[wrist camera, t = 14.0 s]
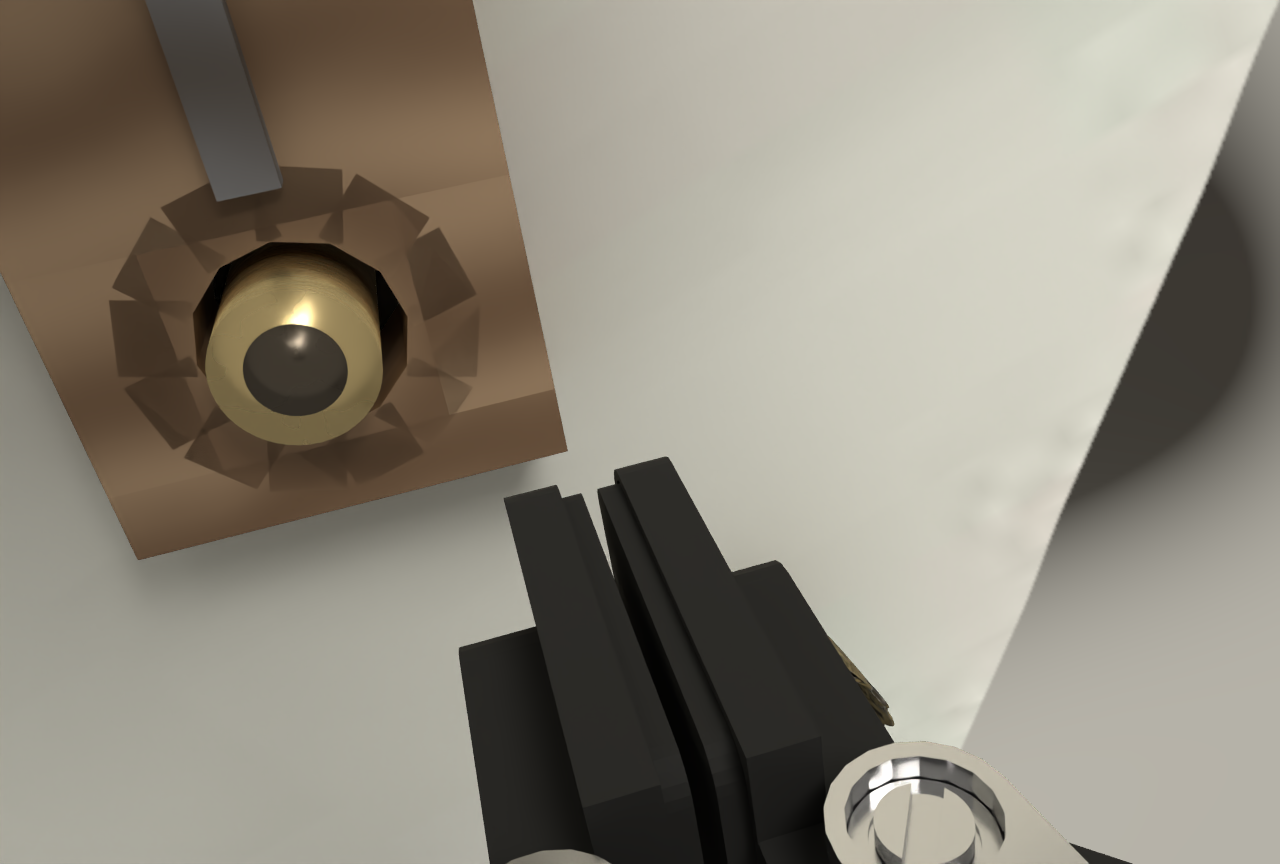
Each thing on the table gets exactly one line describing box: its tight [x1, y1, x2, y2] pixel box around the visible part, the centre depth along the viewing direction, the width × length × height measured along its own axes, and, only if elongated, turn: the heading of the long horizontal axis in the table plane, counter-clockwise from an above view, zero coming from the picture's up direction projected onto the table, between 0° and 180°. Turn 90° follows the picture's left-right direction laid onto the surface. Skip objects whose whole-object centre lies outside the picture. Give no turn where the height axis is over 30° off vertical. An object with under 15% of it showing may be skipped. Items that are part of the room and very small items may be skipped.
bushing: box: [205, 242, 383, 445], centre depth 31 cm, size 4×4×7 cm
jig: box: [0, 0, 568, 560], centre depth 30 cm, size 18×13×6 cm
